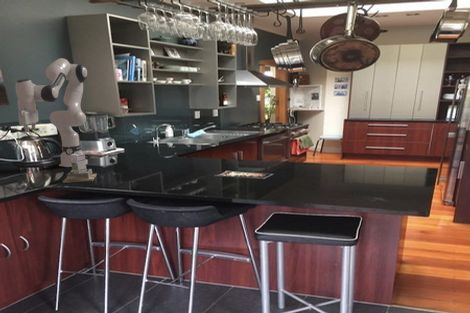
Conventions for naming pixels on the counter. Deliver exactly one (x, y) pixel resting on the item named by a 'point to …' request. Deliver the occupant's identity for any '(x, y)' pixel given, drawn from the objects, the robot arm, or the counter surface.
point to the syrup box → (78, 163)
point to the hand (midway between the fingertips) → (30, 131)
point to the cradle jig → (80, 176)
